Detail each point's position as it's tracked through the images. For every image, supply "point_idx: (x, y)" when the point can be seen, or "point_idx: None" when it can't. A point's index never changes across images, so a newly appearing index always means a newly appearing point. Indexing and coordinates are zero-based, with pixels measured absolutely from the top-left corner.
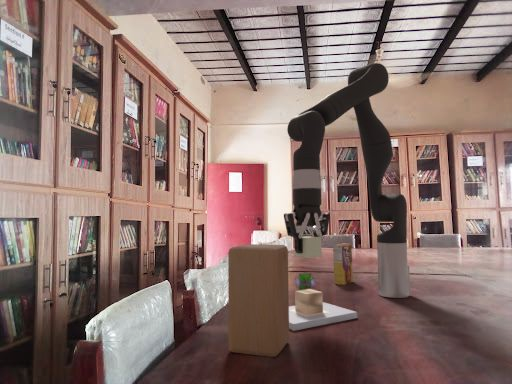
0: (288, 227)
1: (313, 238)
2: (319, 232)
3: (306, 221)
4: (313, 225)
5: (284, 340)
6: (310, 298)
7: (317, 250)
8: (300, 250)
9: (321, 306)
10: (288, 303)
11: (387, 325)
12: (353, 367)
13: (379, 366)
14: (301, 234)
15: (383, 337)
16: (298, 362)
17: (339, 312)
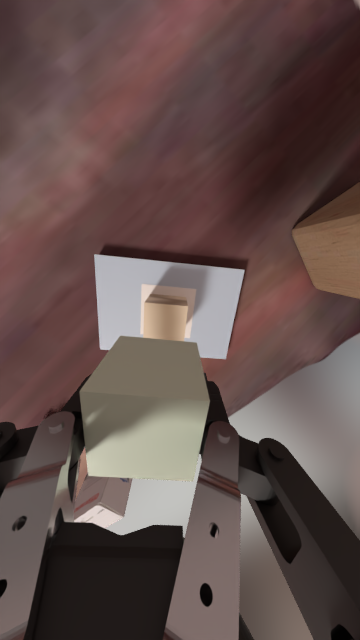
0: (300, 547)
1: (149, 391)
2: (47, 446)
3: (193, 602)
4: (74, 531)
5: (330, 203)
6: (178, 303)
7: (135, 350)
8: (206, 379)
9: (152, 296)
10: (350, 208)
11: (83, 181)
12: (317, 55)
13: (284, 19)
14: (218, 444)
15: (149, 132)
16: (351, 145)
17: (126, 273)
